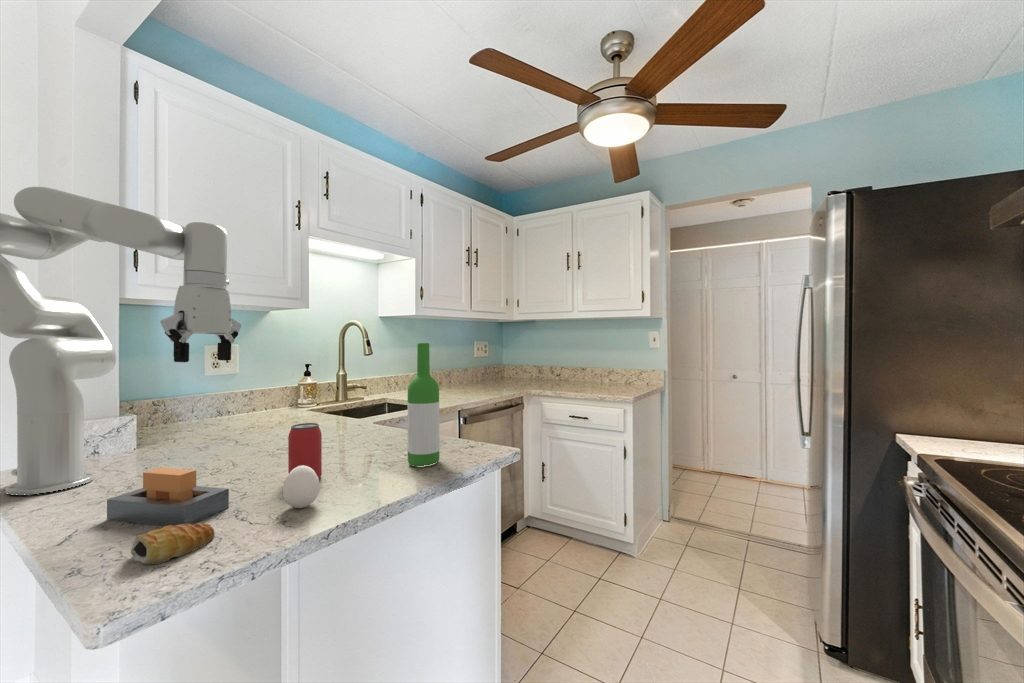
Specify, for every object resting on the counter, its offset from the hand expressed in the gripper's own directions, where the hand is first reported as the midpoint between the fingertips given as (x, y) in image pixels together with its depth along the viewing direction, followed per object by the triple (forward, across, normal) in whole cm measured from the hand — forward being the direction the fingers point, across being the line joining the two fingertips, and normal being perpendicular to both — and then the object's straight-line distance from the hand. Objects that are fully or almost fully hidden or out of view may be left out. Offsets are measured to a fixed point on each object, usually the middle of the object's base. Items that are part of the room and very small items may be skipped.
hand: (203, 361), depth 91 cm
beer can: (+26, -7, +20) cm, 34 cm away
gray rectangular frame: (+26, +14, +10) cm, 31 cm away
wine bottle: (+26, -24, +40) cm, 54 cm away
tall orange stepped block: (+26, +14, +10) cm, 31 cm away
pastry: (+26, +24, +24) cm, 43 cm away
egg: (+26, +6, +31) cm, 41 cm away
